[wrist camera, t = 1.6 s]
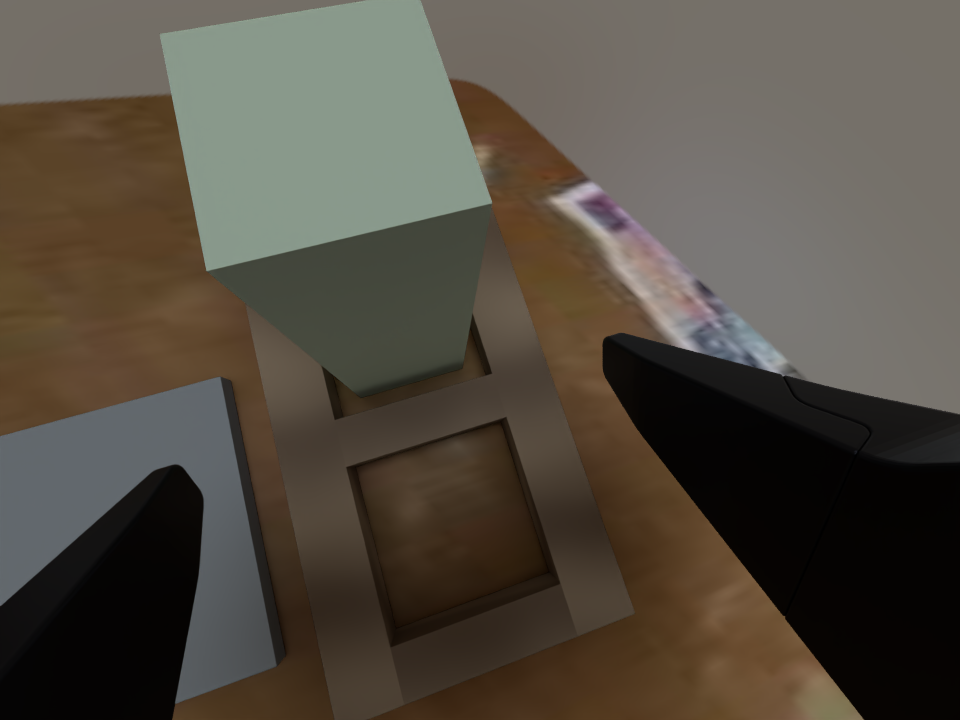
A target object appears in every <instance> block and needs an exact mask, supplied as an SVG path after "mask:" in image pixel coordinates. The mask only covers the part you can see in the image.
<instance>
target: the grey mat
mask: <svg viewBox="0 0 960 720" xmlns="http://www.w3.org/2000/svg"><path fill="white" fill-rule="evenodd" d="M173 464H178V465H180V466H182V467H183V468H184V469H185V470H186V472H187V473H188V474H189V476H190V477H191V478H192V480H193V481H194V482H195V484H196V485H197V486H198V488H199V489H200V490H201V492H202V494H203V498H204V511H203V526H202V542H201V557H200V569H199V577H198V583H197V589H196V594H195V600H194V605H193V610H192V616H191V621H190V627H189V632H188V637H187V643H186V648H185V653H184V659H183V664H182V669H181V675H180V680H179V686H178V691H177V696H176V702H175V704H176V703H179V702H181V701H184V700H187V699H190V698H192V697H195V696H198V695H201V694H203V693H206V692H209V691H211V690H214V689H217V688H220V687H222V686H225V685H228V684H230V683H233V682H236V681H239V680H241V679H244V678H247V677H249V676H252V675H255V674H258V673H260V672H263V671H266V670H268V669H271V668H274V667H277V666H278V664H279V663H280V662H281V661H282V660H283V658H284V657H285V656H286V655H285V650H284V645H283V640H282V635H281V630H280V625H279V620H278V615H277V610H276V605H275V600H274V595H273V590H272V585H271V580H270V575H269V570H268V565H267V560H266V555H265V550H264V545H263V540H262V535H261V530H260V525H259V520H258V515H257V510H256V505H255V500H254V495H253V489H252V484H251V479H250V474H249V469H248V464H247V459H246V454H245V449H244V444H243V439H242V434H241V429H240V424H239V419H238V414H237V409H236V404H235V399H234V394H233V389H232V384H231V381H230V380H228V379H225V378H223V377H217V378H213V379H210V380H206V381H202V382H198V383H195V384H191V385H187V386H184V387H180V388H176V389H173V390H169V391H165V392H162V393H158V394H154V395H151V396H147V397H143V398H140V399H136V400H132V401H129V402H125V403H121V404H117V405H114V406H110V407H106V408H103V409H99V410H95V411H92V412H88V413H84V414H81V415H77V416H73V417H70V418H66V419H62V420H59V421H55V422H51V423H48V424H44V425H40V426H36V427H33V428H29V429H25V430H22V431H18V432H14V433H11V434H7V435H3V436H0V606H1V605H2V604H3V603H4V602H6V601H7V600H8V599H9V598H10V597H11V596H12V595H13V594H15V593H16V592H17V591H18V590H19V589H20V588H21V587H22V586H24V585H25V584H26V583H27V582H28V581H29V580H30V579H32V578H33V577H34V576H35V575H36V574H37V573H38V572H39V571H41V570H42V569H43V568H44V567H45V566H46V565H47V564H48V563H50V562H51V561H52V560H53V559H54V558H55V557H56V556H57V555H59V554H60V553H61V552H62V551H63V550H64V549H65V548H67V547H68V546H69V545H70V544H71V543H72V542H73V541H74V540H76V539H77V538H78V537H79V536H80V535H81V534H82V533H83V532H85V531H86V530H87V529H88V528H89V527H90V526H91V525H92V524H94V523H95V522H96V521H97V520H98V519H99V518H100V517H102V516H103V515H104V514H105V513H106V512H107V511H108V510H109V509H111V508H112V507H113V506H114V505H115V504H116V503H117V502H118V501H120V500H121V499H122V498H123V497H124V496H125V495H126V494H127V493H129V492H130V491H131V490H132V489H133V488H134V487H135V486H137V485H138V484H139V483H140V482H141V481H142V480H143V479H144V478H146V477H147V476H148V475H149V474H150V473H151V472H152V471H154V470H156V469H159V468H163V467H166V466H170V465H173Z"/></svg>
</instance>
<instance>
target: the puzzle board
mask: <svg viewBox="0 0 960 720" xmlns="http://www.w3.org/2000/svg"><path fill="white" fill-rule="evenodd" d="M245 305H246V309H247V314H248V319H249V323H250V328H251V333H252V337H253V342H254V347H255V351H256V356H257V361H258V365H259V370H260V375H261V379H262V384H263V389H264V393H265V398H266V403H267V407H268V412H269V417H270V421H271V426H272V431H273V435H274V440H275V445H276V449H277V454H278V459H279V463H280V468H281V473H282V477H283V482H284V487H285V491H286V496H287V501H288V505H289V510H290V515H291V519H292V524H293V529H294V533H295V538H296V543H297V547H298V552H299V557H300V561H301V566H302V571H303V575H304V580H305V585H306V589H307V594H308V599H309V603H310V608H311V613H312V617H313V622H314V627H315V631H316V636H317V641H318V645H319V650H320V655H321V659H322V664H323V668H324V673H325V678H326V682H327V687H328V692H329V696H330V701H331V706H332V710H333V715H334V720H368V719H371V718H373V717H376V716H378V715H381V714H383V713H386V712H388V711H391V710H393V709H396V708H398V707H401V706H403V705H406V704H408V703H411V702H413V701H416V700H419V699H421V698H424V697H426V696H429V695H431V694H434V693H436V692H439V691H441V690H444V689H446V688H449V687H451V686H454V685H456V684H459V683H461V682H464V681H466V680H469V679H472V678H474V677H477V676H479V675H482V674H484V673H487V672H489V671H492V670H494V669H497V668H499V667H502V666H504V665H507V664H509V663H512V662H514V661H517V660H520V659H522V658H525V657H527V656H530V655H532V654H535V653H537V652H540V651H542V650H545V649H547V648H550V647H552V646H555V645H557V644H560V643H562V642H565V641H567V640H570V639H573V638H575V637H578V636H580V635H583V634H585V633H588V632H590V631H593V630H595V629H598V628H600V627H603V626H605V625H608V624H610V623H613V622H615V621H618V620H621V619H623V618H626V617H628V616H631V615H633V614H635V612H634V609H633V606H632V603H631V600H630V597H629V595H628V592H627V589H626V586H625V583H624V580H623V578H622V575H621V572H620V569H619V566H618V563H617V561H616V558H615V555H614V552H613V549H612V546H611V544H610V541H609V538H608V535H607V532H606V529H605V527H604V524H603V521H602V518H601V515H600V512H599V510H598V507H597V504H596V501H595V498H594V496H593V493H592V490H591V487H590V484H589V481H588V479H587V476H586V473H585V470H584V467H583V464H582V462H581V459H580V456H579V453H578V450H577V447H576V445H575V442H574V439H573V436H572V433H571V430H570V428H569V425H568V422H567V419H566V416H565V413H564V411H563V408H562V405H561V402H560V399H559V396H558V394H557V391H556V388H555V385H554V382H553V379H552V377H551V374H550V371H549V368H548V365H547V362H546V360H545V357H544V354H543V351H542V348H541V345H540V343H539V340H538V337H537V334H536V331H535V329H534V326H533V323H532V320H531V317H530V314H529V312H528V309H527V306H526V303H525V300H524V297H523V295H522V292H521V289H520V286H519V283H518V280H517V278H516V275H515V272H514V269H513V266H512V263H511V261H510V258H509V255H508V252H507V249H506V246H505V244H504V241H503V238H502V235H501V232H500V229H499V227H498V224H497V221H496V218H495V215H494V212H493V210H492V208H491V213H490V219H489V224H488V230H487V235H486V241H485V246H484V252H483V257H482V263H481V268H480V274H479V279H478V285H477V291H476V296H475V302H474V307H473V313H472V318H471V324H470V327H471V330H472V334H473V337H474V340H475V343H476V346H477V349H478V352H479V355H480V358H481V361H482V365H483V368H484V371H485V374H486V376H482V377H479V378H476V379H472V380H469V381H466V382H462V383H459V384H455V385H452V386H449V387H445V388H442V389H439V390H435V391H432V392H428V393H425V394H422V395H418V396H415V397H411V398H408V399H405V400H401V401H398V402H395V403H391V404H388V405H384V406H381V407H378V408H374V409H371V410H367V411H364V412H361V413H357V414H354V415H351V416H347V417H344V418H343V415H342V411H341V406H340V402H339V398H338V394H337V390H336V386H335V382H334V378H333V374H331V373H330V372H329V371H328V370H326V369H325V368H324V367H323V366H322V365H320V364H319V363H318V362H317V361H316V360H314V359H313V358H312V357H311V356H309V355H308V354H307V353H306V352H305V351H303V350H302V349H301V348H300V347H298V346H297V345H296V344H295V343H294V342H292V341H291V340H290V339H289V338H287V337H286V336H285V335H284V334H283V333H281V332H280V331H279V330H278V329H277V328H275V327H274V326H273V325H272V324H270V323H269V322H268V321H267V320H266V319H264V318H263V317H262V316H261V315H259V314H258V313H257V312H256V311H255V310H253V309H252V308H251V307H250V306H249V305H247V304H246V303H245ZM500 421H501V424H502V427H503V430H504V433H505V436H506V439H507V442H508V445H509V448H510V451H511V455H512V458H513V461H514V464H515V467H516V470H517V473H518V476H519V479H520V483H521V486H522V489H523V492H524V495H525V498H526V501H527V504H528V507H529V510H530V514H531V517H532V520H533V523H534V526H535V529H536V532H537V535H538V538H539V541H540V545H541V548H542V551H543V554H544V557H545V560H546V563H547V566H548V569H549V573H546V574H543V575H540V576H538V577H535V578H532V579H530V580H527V581H524V582H522V583H519V584H516V585H513V586H511V587H508V588H505V589H503V590H500V591H497V592H495V593H492V594H489V595H486V596H484V597H481V598H478V599H476V600H473V601H470V602H468V603H465V604H462V605H459V606H457V607H454V608H451V609H449V610H446V611H443V612H440V613H438V614H435V615H432V616H430V617H427V618H424V619H422V620H419V621H416V622H413V623H411V624H408V625H405V626H403V627H400V628H397V629H396V627H395V623H394V619H393V615H392V611H391V607H390V603H389V599H388V595H387V591H386V587H385V583H384V579H383V575H382V571H381V567H380V563H379V559H378V555H377V551H376V547H375V543H374V539H373V535H372V531H371V527H370V523H369V519H368V515H367V511H366V507H365V503H364V499H363V495H362V491H361V487H360V483H359V479H358V475H357V471H356V467H357V466H360V465H363V464H366V463H369V462H373V461H376V460H379V459H382V458H385V457H389V456H392V455H395V454H398V453H401V452H405V451H408V450H411V449H414V448H417V447H421V446H424V445H427V444H430V443H433V442H437V441H440V440H443V439H446V438H449V437H452V436H456V435H459V434H462V433H465V432H468V431H472V430H475V429H478V428H481V427H484V426H488V425H491V424H494V423H497V422H500Z"/></svg>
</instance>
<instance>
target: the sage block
mask: <svg viewBox="0 0 960 720" xmlns="http://www.w3.org/2000/svg"><path fill="white" fill-rule="evenodd" d="M160 38H161V43H162V48H163V53H164V58H165V63H166V68H167V73H168V78H169V84H170V89H171V94H172V99H173V104H174V109H175V114H176V119H177V124H178V129H179V134H180V139H181V144H182V149H183V154H184V159H185V164H186V169H187V175H188V180H189V185H190V190H191V195H192V200H193V205H194V210H195V215H196V220H197V225H198V230H199V235H200V240H201V245H202V250H203V255H204V260H205V265H206V271H207V272H208V273H210V274H211V275H212V276H213V277H214V278H216V279H217V280H218V281H219V282H220V283H222V284H223V285H224V286H225V287H227V288H228V289H229V290H230V291H231V292H233V293H234V294H235V295H236V296H238V297H239V298H240V299H241V300H242V301H244V302H245V303H246V304H247V305H249V306H250V307H251V308H252V309H253V310H255V311H256V312H257V313H258V314H259V315H261V316H262V317H263V318H264V319H266V320H267V321H268V322H269V323H270V324H272V325H273V326H274V327H275V328H277V329H278V330H279V331H280V332H281V333H283V334H284V335H285V336H286V337H287V338H289V339H290V340H291V341H292V342H294V343H295V344H296V345H297V346H298V347H300V348H301V349H302V350H303V351H305V352H306V353H307V354H308V355H309V356H311V357H312V358H313V359H314V360H316V361H317V362H318V363H319V364H320V365H322V366H323V367H324V368H325V369H326V370H328V371H329V372H330V373H331V374H333V375H334V376H335V377H336V378H337V379H339V380H340V381H341V382H342V383H344V384H345V385H346V386H347V387H348V388H350V389H351V390H352V391H353V392H354V393H356V394H357V395H358V396H359V397H361V398H363V397H366V396H369V395H373V394H376V393H380V392H383V391H387V390H390V389H393V388H397V387H400V386H404V385H407V384H411V383H414V382H418V381H421V380H424V379H428V378H431V377H435V376H438V375H442V374H445V373H448V372H452V371H455V370H459V369H462V368H463V362H464V357H465V351H466V346H467V340H468V335H469V329H470V324H471V318H472V313H473V307H474V302H475V296H476V291H477V285H478V279H479V274H480V268H481V263H482V257H483V252H484V246H485V241H486V235H487V230H488V224H489V219H490V213H491V208H492V201H491V198H490V195H489V192H488V190H487V187H486V184H485V181H484V178H483V176H482V173H481V170H480V167H479V164H478V161H477V159H476V156H475V153H474V150H473V147H472V144H471V142H470V139H469V136H468V133H467V130H466V128H465V125H464V122H463V119H462V116H461V113H460V111H459V108H458V105H457V102H456V99H455V97H454V94H453V91H452V88H451V85H450V82H449V80H448V77H447V74H446V71H445V69H444V66H443V63H442V60H441V57H440V54H439V51H438V49H437V46H436V43H435V40H434V37H433V35H432V32H431V29H430V26H429V23H428V20H427V18H426V15H425V12H424V9H423V6H422V4H421V1H420V0H368V1H361V2H355V3H349V4H342V5H337V6H330V7H324V8H318V9H312V10H306V11H300V12H293V13H287V14H281V15H275V16H268V17H262V18H256V19H250V20H244V21H238V22H232V23H225V24H219V25H213V26H207V27H201V28H195V29H189V30H182V31H176V32H170V33H164V34H160Z"/></svg>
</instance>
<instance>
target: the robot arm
mask: <svg viewBox="0 0 960 720" xmlns="http://www.w3.org/2000/svg"><path fill="white" fill-rule="evenodd" d="M603 372H604V375H605V378H606V379H607V381H608V383H609V384H610V386H611V388H612V389H613V391H614V392H615V394H616V396H617V397H618V399H619V401H620V402H621V404H622V406H623V407H624V409H625V411H626V412H627V414H628V415H629V417H630V419H631V420H632V422H633V423H634V425H635V427H636V428H637V430H638V431H639V432H640V434H641V435H642V436H643V438H644V439H645V440H646V441H647V443H648V444H649V445H650V447H651V448H652V449H653V450H654V452H655V453H656V454H657V455H658V457H659V458H660V459H661V461H662V462H663V463H664V464H665V466H666V467H667V468H668V470H669V471H670V472H671V473H672V475H673V476H674V477H675V478H676V480H677V481H678V482H679V484H680V485H681V486H682V487H683V489H684V490H685V491H686V493H687V494H688V495H689V496H690V498H691V499H692V500H693V501H694V503H695V504H696V505H697V507H698V508H699V509H700V510H701V512H702V513H703V514H704V516H705V517H706V518H707V519H708V521H709V522H710V523H711V524H712V526H713V527H714V528H715V530H716V531H717V532H718V533H719V535H720V536H721V537H722V538H723V540H724V541H725V542H726V544H727V545H728V546H729V547H730V549H731V550H732V551H733V553H734V554H735V555H736V556H737V558H738V559H739V560H740V561H741V563H742V564H743V565H744V567H745V568H746V569H747V570H748V572H749V573H750V574H751V576H752V577H753V578H754V579H755V581H756V582H757V583H758V584H759V586H760V587H761V588H762V590H763V591H764V592H765V593H766V595H767V596H768V597H769V598H770V600H771V601H772V602H773V604H774V605H775V606H776V607H777V609H778V610H779V611H780V613H781V614H782V615H783V616H785V619H786V621H787V622H788V623H789V625H790V626H791V627H792V628H793V630H794V631H795V632H796V633H797V635H798V636H799V637H800V639H801V640H802V641H803V642H804V644H805V645H806V646H807V647H808V649H809V650H810V651H811V653H812V654H813V655H814V656H815V658H816V659H817V660H818V662H819V663H820V664H821V665H822V667H823V668H824V669H825V670H826V672H827V673H828V674H829V676H830V677H831V678H832V679H833V681H834V682H835V683H836V684H837V686H838V687H839V688H840V690H841V691H842V692H843V693H844V695H845V696H846V697H847V699H848V700H849V701H850V702H851V704H852V705H853V706H854V707H855V709H856V710H857V711H858V713H859V714H860V715H861V716H862V718H863V719H864V720H960V414H955V413H951V412H946V411H941V410H937V409H932V408H926V407H922V406H917V405H912V404H907V403H903V402H898V401H893V400H888V399H883V398H878V397H874V396H869V395H864V394H860V393H855V392H851V391H846V390H841V389H837V388H833V387H829V386H824V385H821V384H816V383H813V382H809V381H805V380H801V379H797V378H793V377H790V376H782V375H781V374H778V373H774V372H770V371H766V370H762V369H759V368H755V367H751V366H747V365H743V364H740V363H736V362H732V361H728V360H724V359H720V358H717V357H713V356H709V355H705V354H701V353H698V352H694V351H690V350H686V349H682V348H678V347H675V346H671V345H667V344H663V343H659V342H656V341H652V340H648V339H644V338H640V337H636V336H633V335H629V334H625V333H618V334H614V335H611V336H608V337H606V338H605V339H604V340H603ZM203 511H204V498H203V494H202V492H201V490H200V489H199V488H198V486H197V485H196V484H195V482H194V481H193V480H192V478H191V477H190V476H189V474H188V473H187V472H186V470H185V469H184V468H183V467H182V466H180V465H178V464H173V465H170V466H166V467H163V468H159V469H156V470H154V471H152V472H151V473H150V474H149V475H148V476H147V477H146V478H144V479H143V480H142V481H141V482H140V483H139V484H138V485H137V486H135V487H134V488H133V489H132V490H131V491H130V492H129V493H127V494H126V495H125V496H124V497H123V498H122V499H121V500H120V501H118V502H117V503H116V504H115V505H114V506H113V507H112V508H111V509H109V510H108V511H107V512H106V513H105V514H104V515H103V516H102V517H100V518H99V519H98V520H97V521H96V522H95V523H94V524H92V525H91V526H90V527H89V528H88V529H87V530H86V531H85V532H83V533H82V534H81V535H80V536H79V537H78V538H77V539H76V540H74V541H73V542H72V543H71V544H70V545H69V546H68V547H67V548H65V549H64V550H63V551H62V552H61V553H60V554H59V555H57V556H56V557H55V558H54V559H53V560H52V561H51V562H50V563H48V564H47V565H46V566H45V567H44V568H43V569H42V570H41V571H39V572H38V573H37V574H36V575H35V576H34V577H33V578H32V579H30V580H29V581H28V582H27V583H26V584H25V585H24V586H22V587H21V588H20V589H19V590H18V591H17V592H16V593H15V594H13V595H12V596H11V597H10V598H9V599H8V600H7V601H6V602H4V603H3V604H2V605H1V606H0V720H172V718H173V712H174V707H175V702H176V696H177V691H178V686H179V680H180V675H181V669H182V664H183V659H184V653H185V648H186V643H187V637H188V632H189V627H190V621H191V616H192V610H193V605H194V600H195V594H196V589H197V583H198V577H199V569H200V557H201V542H202V526H203Z"/></svg>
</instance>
